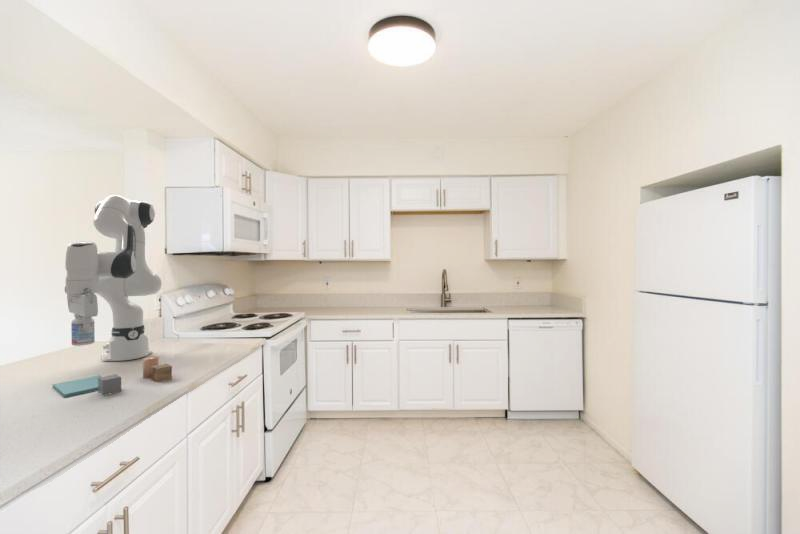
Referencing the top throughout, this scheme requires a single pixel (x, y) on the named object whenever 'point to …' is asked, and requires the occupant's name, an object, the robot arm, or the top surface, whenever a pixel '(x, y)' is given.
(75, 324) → the pill bottle
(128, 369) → the top surface
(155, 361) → the peach capsule cylinder
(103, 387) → the charcoal block
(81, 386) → the teal board
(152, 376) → the walnut block
